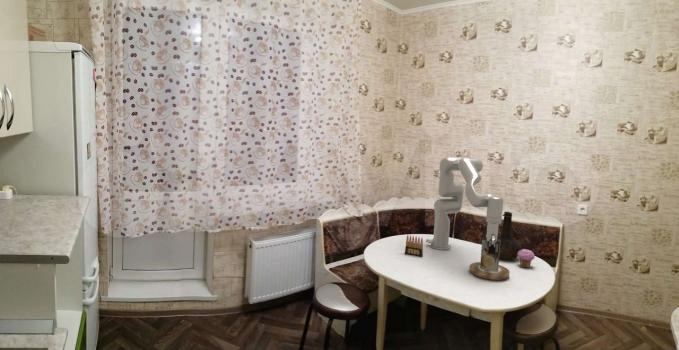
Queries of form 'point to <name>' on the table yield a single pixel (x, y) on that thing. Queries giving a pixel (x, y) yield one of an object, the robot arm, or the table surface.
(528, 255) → the cupcake
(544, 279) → the table surface
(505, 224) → the dark brown vase
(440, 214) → the robot arm
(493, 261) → the coffee box
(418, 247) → the ammunition clip
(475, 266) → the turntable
